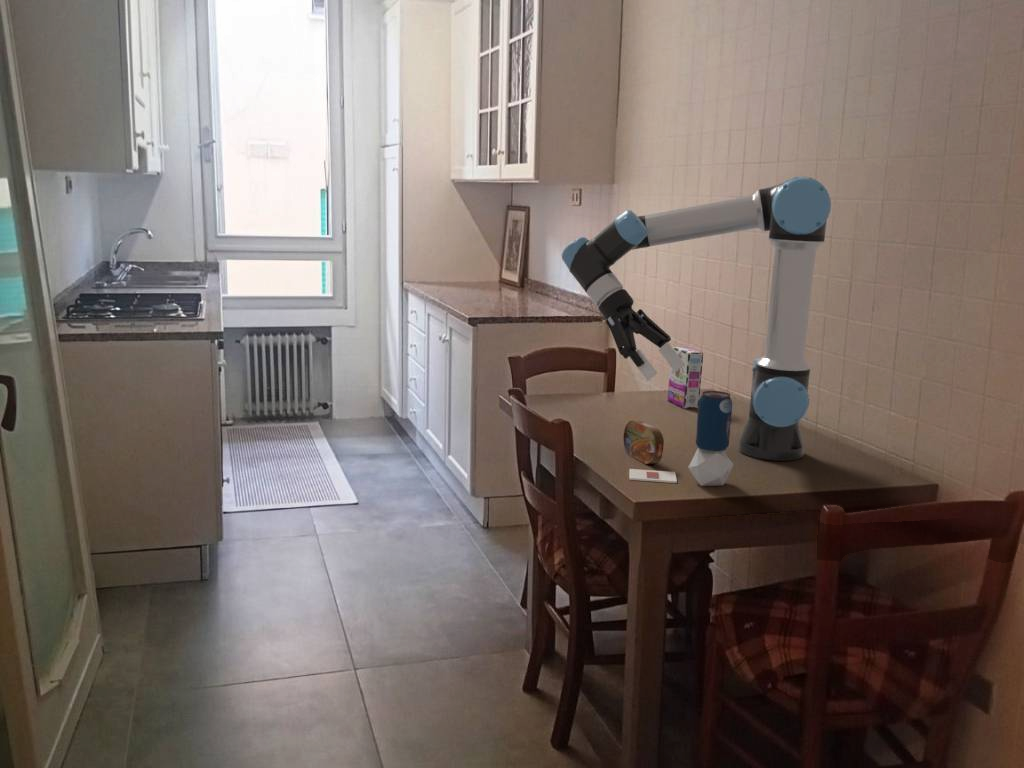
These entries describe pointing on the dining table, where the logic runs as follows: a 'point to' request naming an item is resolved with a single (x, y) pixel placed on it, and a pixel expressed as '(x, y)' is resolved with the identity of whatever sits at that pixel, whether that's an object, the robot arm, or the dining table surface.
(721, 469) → the die
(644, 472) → the card
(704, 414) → the soda can
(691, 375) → the candy bar box
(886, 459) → the dining table surface
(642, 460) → the tin
